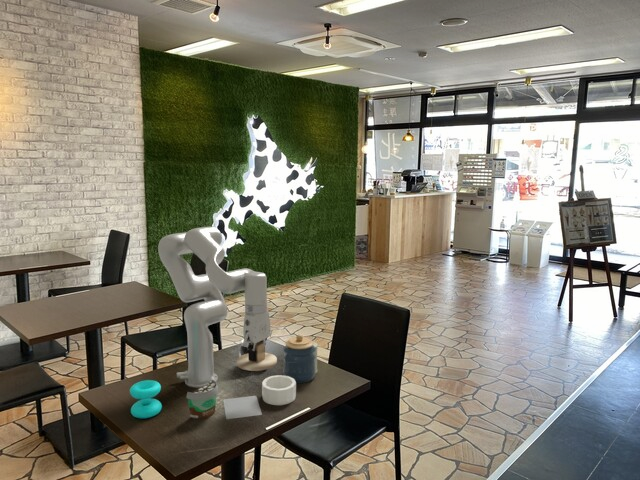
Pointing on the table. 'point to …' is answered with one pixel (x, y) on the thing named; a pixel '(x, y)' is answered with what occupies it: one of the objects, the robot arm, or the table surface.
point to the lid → (262, 361)
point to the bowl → (278, 390)
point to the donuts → (145, 399)
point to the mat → (241, 407)
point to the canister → (299, 359)
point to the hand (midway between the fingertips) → (256, 357)
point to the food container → (203, 401)
